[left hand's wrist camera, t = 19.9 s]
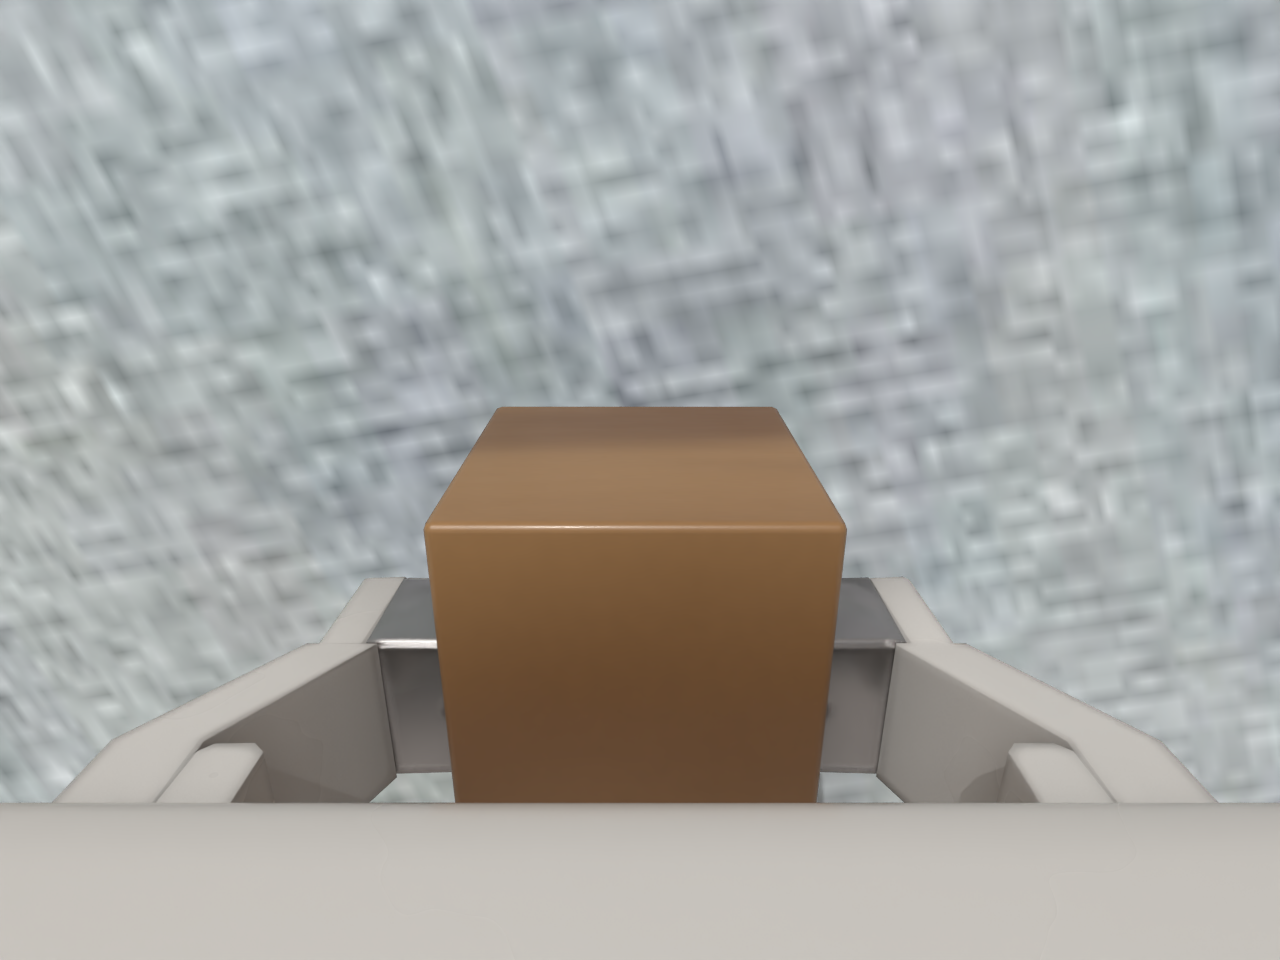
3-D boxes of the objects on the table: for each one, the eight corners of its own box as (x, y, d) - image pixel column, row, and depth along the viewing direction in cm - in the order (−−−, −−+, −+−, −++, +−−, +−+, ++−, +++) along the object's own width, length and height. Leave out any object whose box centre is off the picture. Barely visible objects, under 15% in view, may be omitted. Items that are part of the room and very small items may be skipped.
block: (496, 404, 11) (419, 525, 7) (777, 404, 11) (851, 525, 7) (517, 700, 13) (466, 919, 9) (756, 700, 13) (805, 919, 9)
